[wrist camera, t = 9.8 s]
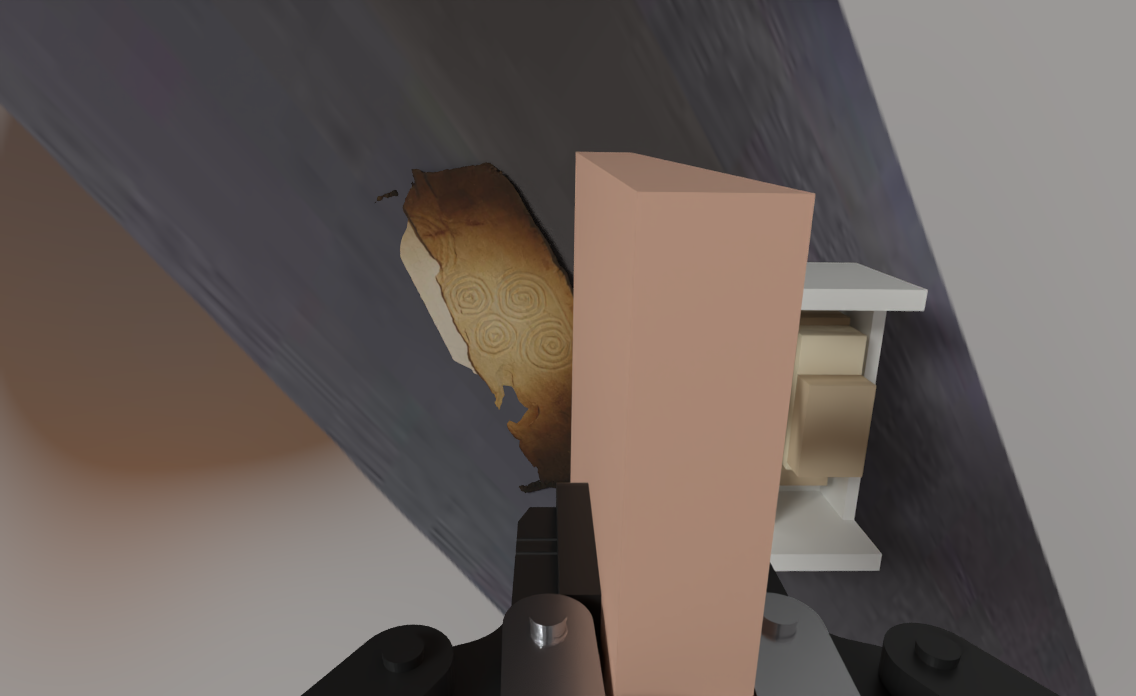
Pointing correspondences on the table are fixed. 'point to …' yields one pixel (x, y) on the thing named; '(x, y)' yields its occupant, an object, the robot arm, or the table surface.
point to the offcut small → (830, 425)
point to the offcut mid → (824, 359)
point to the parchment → (497, 301)
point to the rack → (826, 513)
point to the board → (682, 410)
